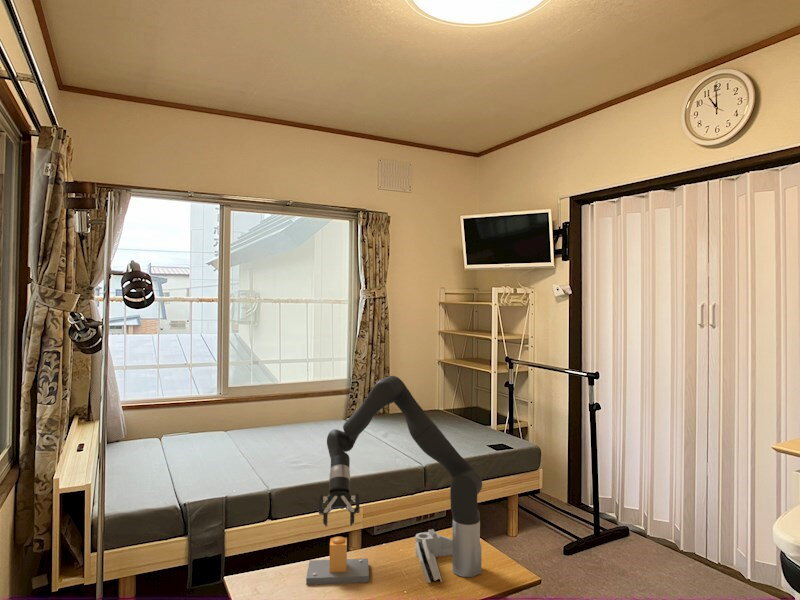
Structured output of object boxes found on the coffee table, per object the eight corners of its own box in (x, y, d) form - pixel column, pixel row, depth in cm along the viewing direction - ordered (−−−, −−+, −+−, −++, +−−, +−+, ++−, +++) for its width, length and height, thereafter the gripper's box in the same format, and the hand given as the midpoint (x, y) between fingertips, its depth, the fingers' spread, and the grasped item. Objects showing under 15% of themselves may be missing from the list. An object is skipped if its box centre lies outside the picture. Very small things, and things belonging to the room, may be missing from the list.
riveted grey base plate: (367, 564, 184) (367, 543, 184) (368, 582, 172) (368, 560, 172) (309, 566, 183) (309, 545, 183) (306, 584, 171) (306, 562, 171)
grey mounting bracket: (465, 553, 193) (465, 531, 193) (418, 559, 188) (418, 536, 188) (459, 546, 198) (459, 525, 199) (413, 552, 194) (413, 530, 194)
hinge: (442, 582, 172) (432, 553, 172) (428, 588, 172) (418, 559, 172) (435, 558, 189) (426, 532, 189) (422, 563, 188) (413, 536, 188)
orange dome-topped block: (346, 563, 180) (346, 535, 181) (346, 571, 175) (346, 542, 175) (330, 564, 180) (330, 535, 180) (329, 572, 175) (329, 542, 175)
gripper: (319, 476, 191) (317, 521, 179) (359, 475, 192) (359, 519, 180) (320, 486, 196) (318, 530, 184) (359, 484, 197) (359, 529, 185)
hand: (338, 525), depth 182 cm, fingers open, 8 cm apart
